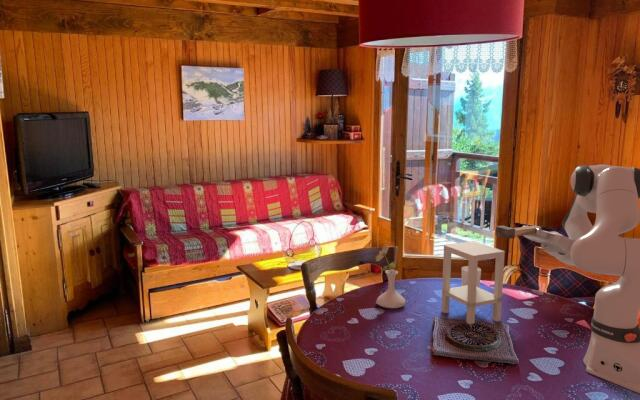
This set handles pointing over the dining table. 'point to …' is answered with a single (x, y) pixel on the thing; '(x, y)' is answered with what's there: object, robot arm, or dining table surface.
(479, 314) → the dining table surface
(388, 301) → the flower in vase
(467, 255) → the shelf stand
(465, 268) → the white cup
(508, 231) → the mallet
